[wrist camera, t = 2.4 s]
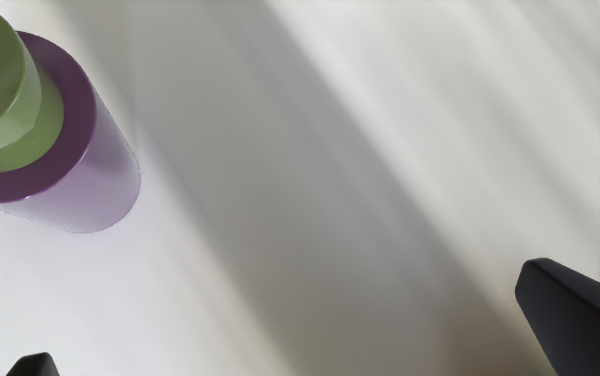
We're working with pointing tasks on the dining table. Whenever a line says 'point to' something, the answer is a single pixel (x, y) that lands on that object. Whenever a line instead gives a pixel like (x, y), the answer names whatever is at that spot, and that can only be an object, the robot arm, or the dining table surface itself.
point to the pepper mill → (58, 141)
